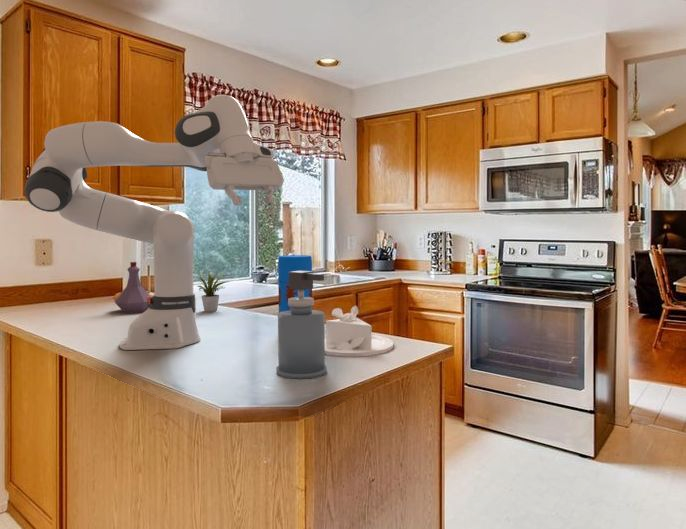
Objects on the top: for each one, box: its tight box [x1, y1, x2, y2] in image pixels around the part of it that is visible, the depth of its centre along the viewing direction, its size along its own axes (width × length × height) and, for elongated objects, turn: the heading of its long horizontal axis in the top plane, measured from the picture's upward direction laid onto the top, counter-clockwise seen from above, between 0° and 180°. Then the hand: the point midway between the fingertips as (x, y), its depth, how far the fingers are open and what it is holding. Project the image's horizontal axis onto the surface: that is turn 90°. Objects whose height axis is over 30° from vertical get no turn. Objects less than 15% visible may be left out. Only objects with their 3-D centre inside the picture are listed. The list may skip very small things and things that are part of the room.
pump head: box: [289, 270, 325, 298], centre depth 118 cm, size 8×4×6 cm, turn 52°
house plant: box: [196, 271, 230, 313], centre depth 206 cm, size 14×14×16 cm
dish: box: [325, 305, 395, 357], centre depth 147 cm, size 25×25×11 cm
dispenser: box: [275, 297, 328, 380], centre depth 120 cm, size 12×12×18 cm
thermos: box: [277, 254, 313, 313], centre depth 164 cm, size 11×11×25 cm
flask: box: [114, 261, 152, 314], centre depth 208 cm, size 16×16×20 cm
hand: (254, 204), depth 125 cm, fingers open, 8 cm apart
